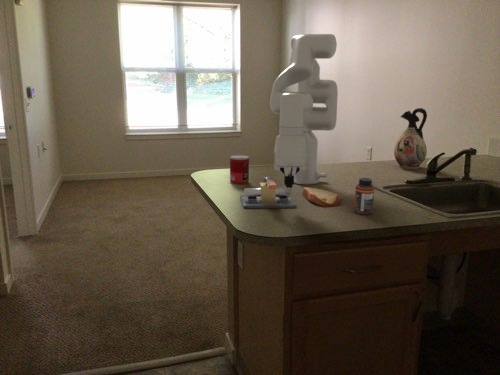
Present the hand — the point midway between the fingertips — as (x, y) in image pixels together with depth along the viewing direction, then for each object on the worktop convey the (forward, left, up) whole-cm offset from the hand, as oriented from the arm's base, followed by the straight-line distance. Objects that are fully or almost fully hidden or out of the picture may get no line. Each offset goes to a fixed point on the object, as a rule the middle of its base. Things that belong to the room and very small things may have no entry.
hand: (288, 186), depth 149 cm
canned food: (+13, -40, -8) cm, 43 cm away
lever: (+6, -3, 0) cm, 7 cm away
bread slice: (-14, -12, -8) cm, 20 cm away
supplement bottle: (-24, +6, -8) cm, 26 cm away
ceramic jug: (-76, -68, -8) cm, 102 cm away
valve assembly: (+6, -8, -8) cm, 13 cm away
